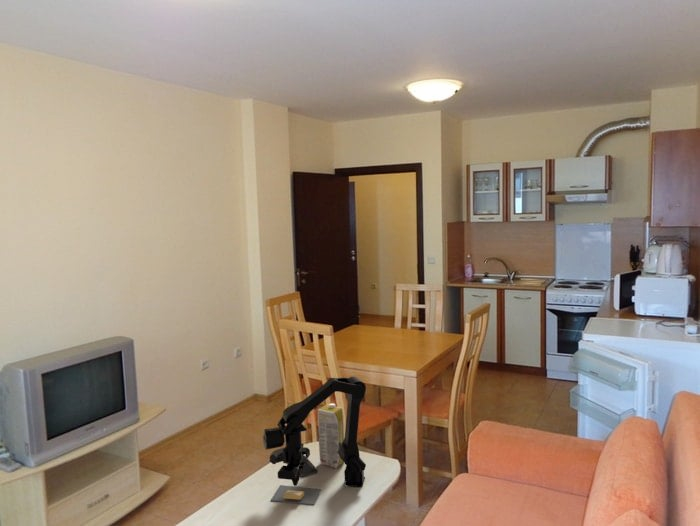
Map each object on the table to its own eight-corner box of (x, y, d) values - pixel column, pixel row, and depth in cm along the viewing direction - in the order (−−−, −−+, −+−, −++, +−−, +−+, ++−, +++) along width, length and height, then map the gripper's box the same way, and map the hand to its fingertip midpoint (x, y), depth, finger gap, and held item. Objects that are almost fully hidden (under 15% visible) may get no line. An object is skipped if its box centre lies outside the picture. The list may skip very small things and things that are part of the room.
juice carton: (347, 461, 214) (345, 404, 211) (336, 470, 207) (334, 411, 204) (328, 456, 219) (326, 400, 216) (317, 464, 212) (314, 406, 209)
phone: (299, 476, 202) (286, 459, 215) (300, 479, 202) (286, 462, 215) (318, 471, 205) (304, 455, 219) (319, 473, 205) (304, 457, 219)
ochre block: (304, 491, 189) (299, 494, 184) (304, 495, 189) (299, 499, 184) (288, 489, 190) (283, 493, 186) (287, 494, 190) (283, 498, 185)
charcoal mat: (321, 489, 193) (321, 488, 193) (314, 505, 183) (314, 504, 183) (280, 486, 197) (280, 485, 197) (270, 501, 187) (270, 500, 187)
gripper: (281, 430, 198) (282, 470, 200) (262, 454, 180) (264, 497, 182) (309, 432, 196) (311, 472, 198) (293, 456, 178) (295, 500, 179)
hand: (295, 485), depth 189 cm, fingers closed
